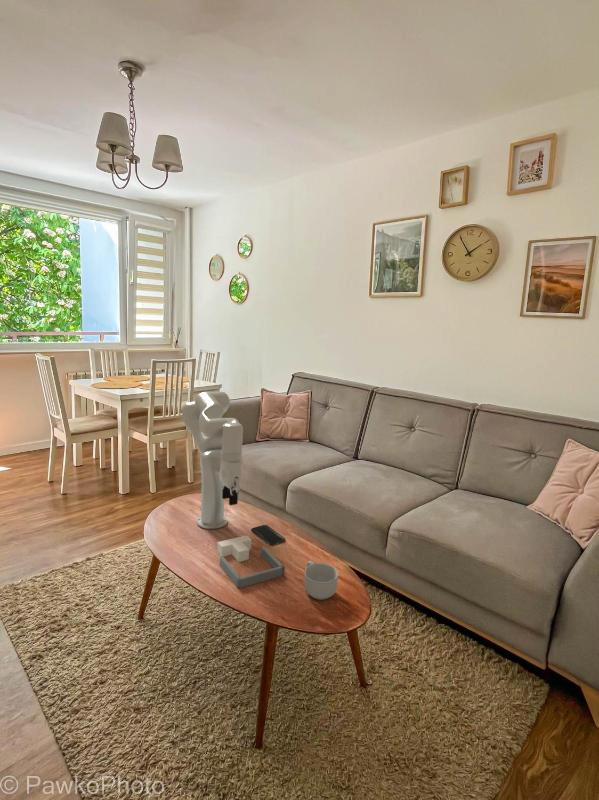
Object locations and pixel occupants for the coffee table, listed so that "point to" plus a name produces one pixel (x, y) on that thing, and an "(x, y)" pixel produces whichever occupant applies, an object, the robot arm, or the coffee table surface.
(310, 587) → the teacup
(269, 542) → the phone
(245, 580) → the bay
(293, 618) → the coffee table surface
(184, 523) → the coffee table surface
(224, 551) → the t block
